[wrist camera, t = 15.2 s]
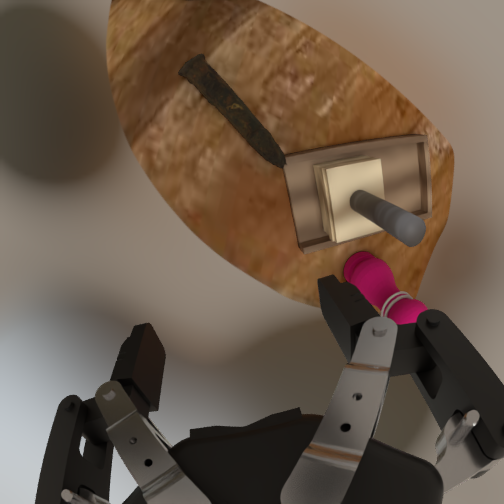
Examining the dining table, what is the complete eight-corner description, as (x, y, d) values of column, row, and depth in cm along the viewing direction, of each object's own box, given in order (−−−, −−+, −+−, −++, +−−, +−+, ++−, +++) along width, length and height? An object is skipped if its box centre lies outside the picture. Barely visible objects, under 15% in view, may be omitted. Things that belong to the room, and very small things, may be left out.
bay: (280, 155, 37) (285, 157, 34) (416, 133, 37) (427, 135, 35) (298, 246, 43) (304, 254, 40) (421, 212, 43) (431, 217, 40)
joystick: (310, 164, 37) (374, 189, 21) (362, 154, 37) (442, 174, 21) (322, 231, 41) (379, 289, 25) (370, 218, 41) (439, 265, 26)
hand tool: (179, 74, 31) (174, 67, 27) (203, 57, 30) (201, 48, 26) (263, 177, 38) (269, 183, 34) (286, 161, 38) (295, 164, 33)
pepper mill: (332, 274, 46) (391, 355, 27) (359, 240, 44) (434, 307, 26) (358, 292, 48) (417, 367, 30) (384, 261, 46) (454, 327, 28)
